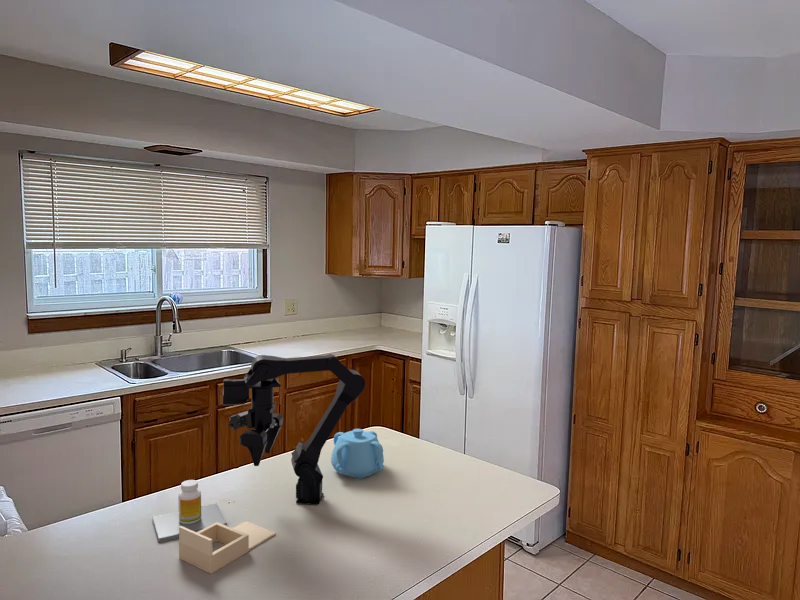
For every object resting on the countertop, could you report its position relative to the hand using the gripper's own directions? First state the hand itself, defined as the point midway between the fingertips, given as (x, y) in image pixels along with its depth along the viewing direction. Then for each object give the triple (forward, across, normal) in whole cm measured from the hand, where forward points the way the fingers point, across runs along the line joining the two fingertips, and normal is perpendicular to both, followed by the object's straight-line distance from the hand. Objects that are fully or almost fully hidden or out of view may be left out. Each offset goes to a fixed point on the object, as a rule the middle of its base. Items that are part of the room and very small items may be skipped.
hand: (262, 459), depth 153 cm
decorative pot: (+13, -26, +22) cm, 37 cm away
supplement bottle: (+12, +12, -15) cm, 23 cm away
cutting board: (+13, +12, -15) cm, 23 cm away
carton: (+13, +21, -1) cm, 25 cm away
